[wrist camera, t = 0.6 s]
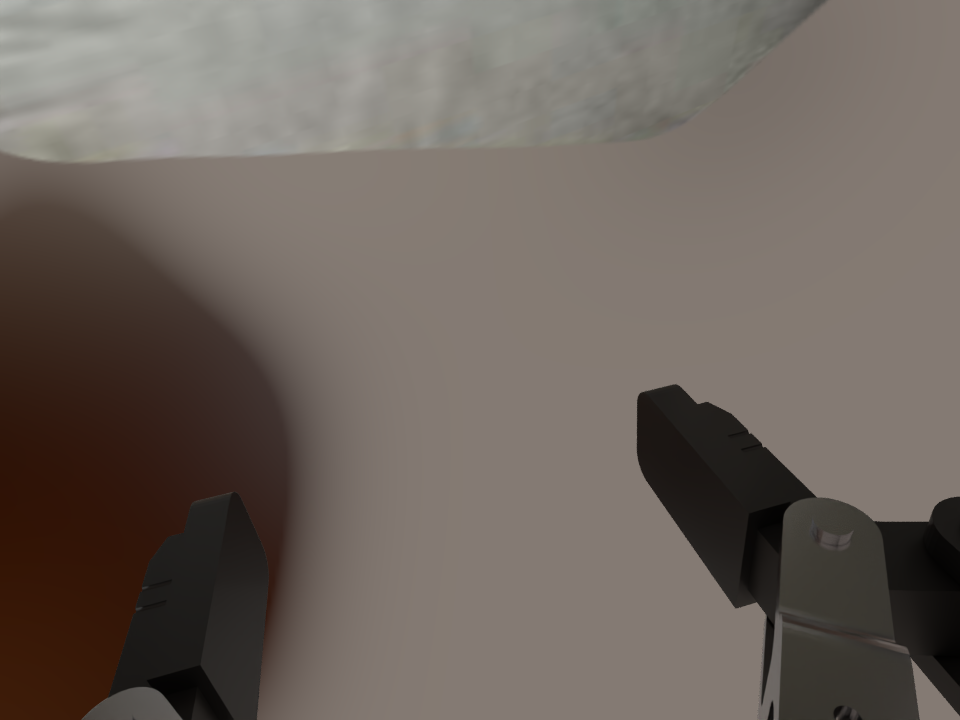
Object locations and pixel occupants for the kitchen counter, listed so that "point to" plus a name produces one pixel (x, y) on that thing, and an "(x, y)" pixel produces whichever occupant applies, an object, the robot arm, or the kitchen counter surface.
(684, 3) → the kitchen counter surface
